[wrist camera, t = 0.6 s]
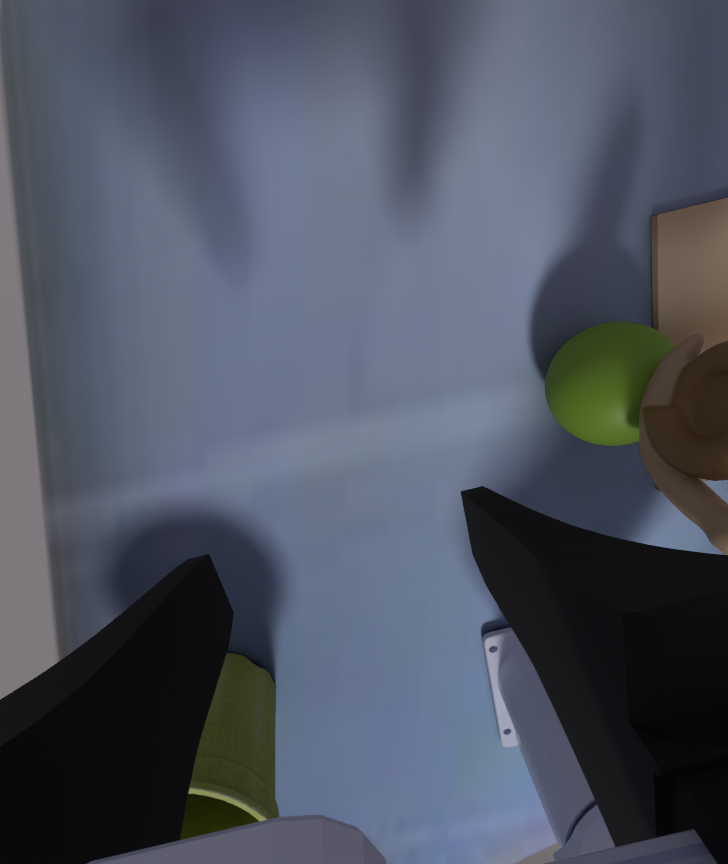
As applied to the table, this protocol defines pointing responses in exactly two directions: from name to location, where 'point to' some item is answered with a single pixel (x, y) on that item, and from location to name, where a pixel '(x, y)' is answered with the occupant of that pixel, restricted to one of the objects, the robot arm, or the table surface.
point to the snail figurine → (651, 409)
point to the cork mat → (691, 273)
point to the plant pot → (235, 753)
